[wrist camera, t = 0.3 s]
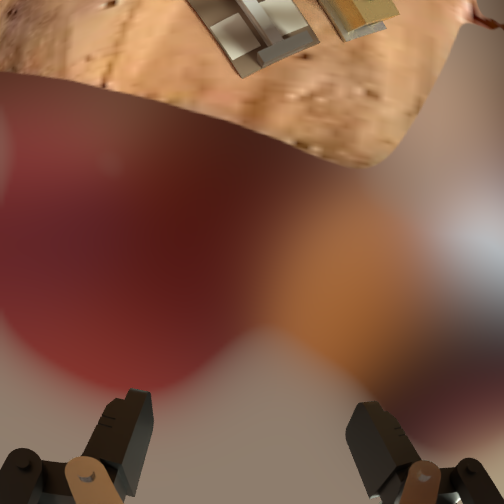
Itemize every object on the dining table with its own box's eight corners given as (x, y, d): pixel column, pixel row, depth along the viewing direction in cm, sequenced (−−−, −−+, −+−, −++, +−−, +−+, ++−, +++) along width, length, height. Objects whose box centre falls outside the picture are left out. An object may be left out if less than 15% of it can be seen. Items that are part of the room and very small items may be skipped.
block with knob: (322, -8, 21) (337, -27, 16) (352, -17, 20) (373, -34, 14) (348, 32, 24) (369, 21, 18) (377, 23, 23) (403, 13, 17)
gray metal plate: (310, -10, 22) (311, -13, 21) (351, -22, 20) (353, -24, 19) (343, 42, 26) (346, 41, 25) (383, 29, 24) (386, 28, 23)
